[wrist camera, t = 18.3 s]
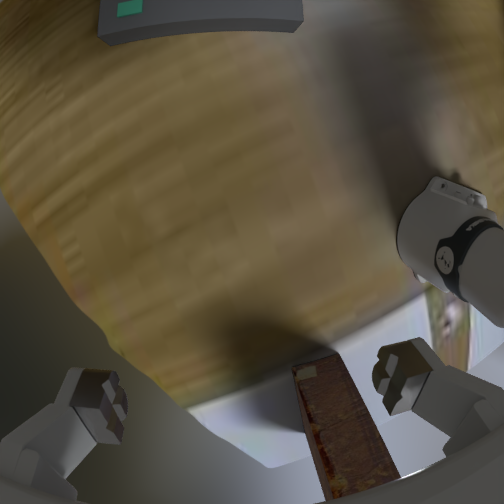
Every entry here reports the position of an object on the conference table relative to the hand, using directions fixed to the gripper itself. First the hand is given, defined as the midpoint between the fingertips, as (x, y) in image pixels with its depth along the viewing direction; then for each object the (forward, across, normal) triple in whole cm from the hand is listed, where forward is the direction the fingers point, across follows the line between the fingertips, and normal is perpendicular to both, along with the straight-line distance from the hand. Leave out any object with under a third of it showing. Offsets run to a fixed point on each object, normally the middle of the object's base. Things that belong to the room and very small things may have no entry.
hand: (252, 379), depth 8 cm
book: (+33, -17, +44) cm, 58 cm away
